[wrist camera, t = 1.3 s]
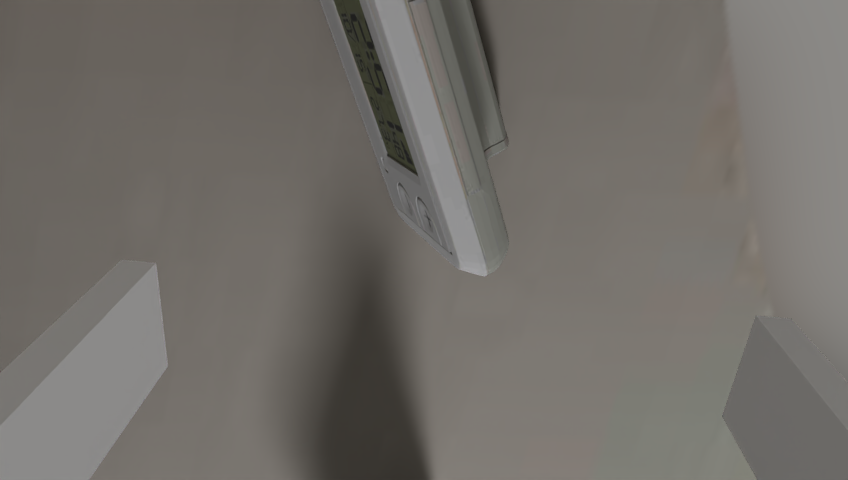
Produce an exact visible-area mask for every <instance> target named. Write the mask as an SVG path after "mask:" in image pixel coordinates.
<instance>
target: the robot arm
mask: <svg viewBox="0 0 848 480" xmlns="http://www.w3.org/2000/svg"><path fill="white" fill-rule="evenodd" d="M167 367H168V363H167V354H166V345H165V336H164V328H163V319H162V310H161V301H160V293H159V284H158V275H157V266H156V263H154V262H143V261H131V260H121V261H120V262H119V263H117V264H116V265H115V266H114V267H113V268H112V269H111V270H110V271H109V272H108V273H107V274H106V275H105V276H104V277H102V278H101V279H100V280H99V281H98V282H97V283H96V284H95V285H94V286H93V287H92V288H91V289H90V290H88V291H87V292H86V293H85V294H84V295H83V296H82V297H81V298H80V299H79V300H78V301H77V302H76V303H75V304H73V305H72V306H71V307H70V308H69V309H68V310H67V311H66V312H65V313H64V314H63V315H62V316H61V317H59V318H58V319H57V320H56V321H55V322H54V323H53V324H52V325H51V326H50V327H49V328H48V329H47V330H46V331H44V332H43V333H42V334H41V335H40V336H39V337H38V338H37V339H36V340H35V341H34V342H33V343H32V344H30V345H29V346H28V347H27V348H26V349H25V350H24V351H23V352H22V353H21V354H20V355H19V356H18V357H16V358H15V359H14V360H13V361H12V362H11V363H10V364H9V365H8V366H7V367H6V368H5V369H4V370H3V371H1V372H0V480H89V479H90V478H91V476H92V475H93V473H94V472H95V470H96V469H97V468H98V466H99V465H100V463H101V462H102V460H103V459H104V457H105V456H106V455H107V453H108V452H109V450H110V449H111V447H112V446H113V444H114V443H115V442H116V440H117V439H118V437H119V436H120V434H121V433H122V431H123V430H124V429H125V427H126V426H127V424H128V423H129V421H130V420H131V418H132V417H133V416H134V414H135V413H136V411H137V410H138V408H139V407H140V405H141V404H142V403H143V401H144V400H145V398H146V397H147V395H148V394H149V393H150V391H151V390H152V388H153V387H154V385H155V384H156V382H157V381H158V380H159V378H160V377H161V375H162V374H163V372H164V371H165V369H166V368H167ZM722 417H723V419H724V421H725V422H726V424H727V426H728V428H729V430H730V431H731V433H732V435H733V437H734V439H735V440H736V442H737V444H738V446H739V448H740V449H741V451H742V453H743V455H744V457H745V458H746V460H747V462H748V464H749V466H750V467H751V469H752V471H753V473H754V475H755V476H756V478H757V480H848V382H847V381H846V380H845V379H844V377H843V376H842V375H841V374H840V373H839V372H838V371H837V370H836V369H835V367H834V366H833V365H832V364H831V363H830V362H829V360H827V358H826V357H825V356H824V355H823V354H822V353H821V351H820V350H819V349H818V348H817V347H816V346H815V345H814V344H813V343H812V341H811V340H810V339H809V338H808V337H807V336H806V334H804V332H803V331H802V330H801V329H800V328H799V327H798V326H797V324H796V323H795V322H794V321H793V320H792V319H790V318H778V317H767V316H756V317H755V320H754V323H753V326H752V329H751V332H750V335H749V338H748V341H747V344H746V347H745V350H744V353H743V356H742V358H741V361H740V364H739V367H738V370H737V373H736V376H735V379H734V382H733V385H732V388H731V391H730V394H729V397H728V400H727V403H726V406H725V409H724V412H723V415H722Z"/></svg>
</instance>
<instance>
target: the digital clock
mask: <svg viewBox="0 0 848 480" xmlns="http://www.w3.org/2000/svg"><path fill="white" fill-rule="evenodd" d="M320 3H321V6H322V9H323V11H324V14H325V17H326V20H327V22H328V25H329V28H330V31H331V34H332V36H333V39H334V42H335V45H336V47H337V50H338V53H339V56H340V59H341V61H342V64H343V67H344V70H345V72H346V75H347V78H348V81H349V83H350V86H351V89H352V92H353V95H354V97H355V100H356V103H357V106H358V108H359V111H360V114H361V117H362V120H363V122H364V125H365V128H366V131H367V133H368V136H369V139H370V142H371V145H372V147H373V150H374V153H375V156H376V158H377V161H378V164H379V167H380V170H381V172H382V175H383V178H384V181H385V183H386V186H387V189H388V191H389V194H390V197H391V200H392V202H393V205H394V207H395V209H396V211H397V213H398V215H399V216H400V217H401V218H402V219H403V220H404V221H405V222H406V223H407V224H408V225H409V226H410V227H411V228H412V229H413V230H415V231H416V232H417V233H418V234H419V235H420V236H421V237H422V238H423V239H424V240H426V241H427V242H428V243H429V244H430V245H431V246H432V247H433V248H434V249H436V250H437V251H438V252H439V253H440V254H441V255H442V256H443V257H444V258H445V259H447V260H448V261H449V262H450V263H451V264H452V265H454V266H455V267H456V268H457V269H460V270H463V271H466V272H469V273H473V274H477V275H481V276H486V275H489V274H491V273H492V272H494V271H495V270H496V269H497V268H498V267H499V266H500V265H501V263H502V261H503V259H504V257H505V256H506V253H507V250H508V245H509V240H508V234H507V231H506V227H505V223H504V220H503V216H502V213H501V209H500V205H499V202H498V198H497V194H496V191H495V187H494V184H493V180H492V177H491V174H490V170H489V167H488V163H487V160H488V159H489V158H491V157H492V156H494V155H496V154H498V153H500V152H502V151H503V150H505V149H506V148H507V147H508V142H509V141H508V137H507V133H506V131H505V127H504V123H503V119H502V116H501V112H500V108H499V105H498V101H497V97H496V93H495V90H494V86H493V82H492V79H491V75H490V71H489V67H488V64H487V60H486V56H485V53H484V49H483V45H482V41H481V38H480V34H479V30H478V27H477V23H476V19H475V15H474V12H473V8H472V4H471V1H470V0H320Z"/></svg>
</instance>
